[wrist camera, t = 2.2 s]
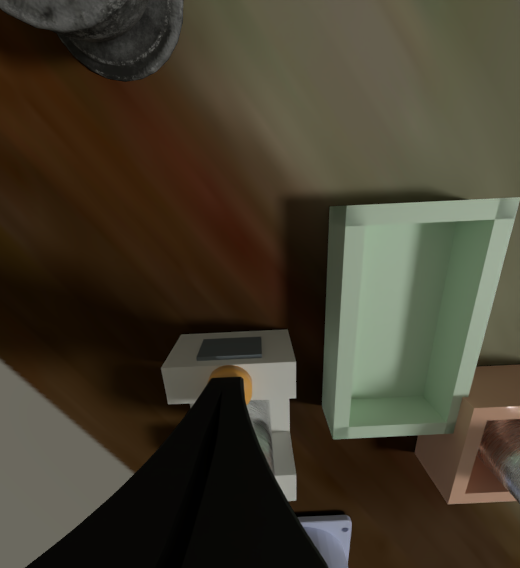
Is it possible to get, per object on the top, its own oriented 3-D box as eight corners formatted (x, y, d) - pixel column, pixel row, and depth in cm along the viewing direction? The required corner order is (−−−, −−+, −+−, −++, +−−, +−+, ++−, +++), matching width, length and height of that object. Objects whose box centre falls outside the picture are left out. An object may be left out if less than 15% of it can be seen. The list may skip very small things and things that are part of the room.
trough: (429, 400, 15) (458, 433, 13) (321, 406, 15) (333, 439, 13) (470, 199, 12) (520, 197, 9) (329, 206, 12) (346, 205, 9)
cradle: (289, 449, 16) (297, 513, 13) (200, 453, 16) (185, 519, 13) (287, 326, 13) (298, 366, 10) (180, 331, 13) (154, 373, 10)
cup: (513, 448, 16) (567, 498, 14) (414, 452, 16) (447, 504, 14) (544, 363, 14) (615, 401, 12) (431, 368, 14) (474, 408, 12)
